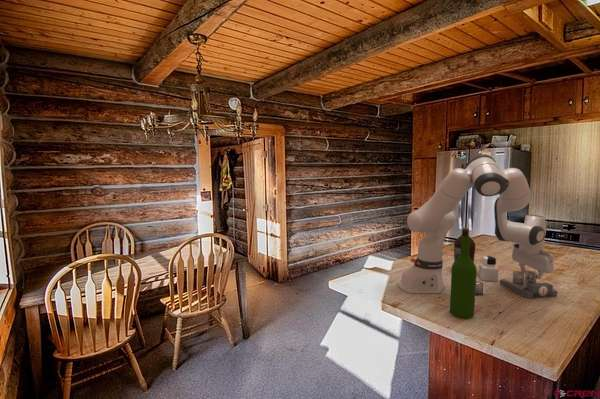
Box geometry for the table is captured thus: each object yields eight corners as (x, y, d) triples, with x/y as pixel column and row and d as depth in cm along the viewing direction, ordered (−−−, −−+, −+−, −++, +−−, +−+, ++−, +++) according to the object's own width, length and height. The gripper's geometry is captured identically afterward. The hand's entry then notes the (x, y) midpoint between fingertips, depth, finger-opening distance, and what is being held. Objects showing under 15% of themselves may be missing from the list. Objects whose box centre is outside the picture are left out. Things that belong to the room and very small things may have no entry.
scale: (528, 298, 144) (529, 287, 143) (499, 284, 161) (500, 273, 160) (557, 296, 146) (558, 285, 145) (525, 282, 163) (526, 272, 163)
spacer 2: (526, 284, 152) (526, 274, 151) (516, 284, 152) (517, 274, 152) (519, 280, 157) (520, 270, 156) (510, 280, 157) (511, 271, 156)
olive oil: (463, 267, 186) (465, 225, 183) (478, 273, 176) (481, 229, 173) (448, 269, 183) (450, 227, 180) (463, 276, 173) (465, 231, 170)
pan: (522, 289, 148) (522, 287, 148) (503, 280, 160) (503, 278, 160) (547, 287, 150) (547, 286, 150) (526, 278, 162) (526, 276, 162)
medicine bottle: (493, 277, 171) (494, 255, 169) (497, 282, 164) (499, 259, 163) (478, 276, 173) (479, 254, 171) (482, 280, 166) (483, 258, 165)
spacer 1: (470, 291, 153) (470, 281, 152) (479, 291, 153) (479, 281, 153) (475, 294, 148) (476, 283, 148) (485, 294, 148) (485, 283, 148)
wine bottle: (466, 308, 136) (470, 233, 132) (478, 318, 127) (483, 239, 123) (445, 308, 135) (449, 234, 131) (456, 319, 126) (460, 239, 122)
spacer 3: (538, 283, 153) (539, 273, 153) (530, 283, 153) (530, 273, 152) (530, 279, 158) (531, 270, 157) (522, 280, 157) (523, 270, 157)
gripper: (558, 253, 143) (556, 283, 145) (521, 242, 164) (519, 268, 165) (546, 254, 143) (543, 284, 144) (510, 243, 163) (508, 269, 164)
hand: (530, 275), depth 155 cm, fingers open, 7 cm apart
